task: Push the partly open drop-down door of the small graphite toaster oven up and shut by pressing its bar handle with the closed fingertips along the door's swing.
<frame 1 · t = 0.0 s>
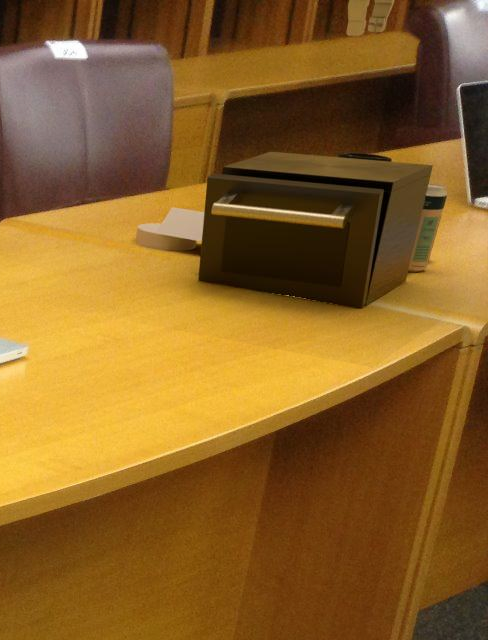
hand: (365, 33, 198), 33 cm above the table, tool pointing down, fingers open, 8 cm apart
coffee cup: (339, 256, 236), on the table
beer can: (407, 270, 226), on the table
oven: (304, 282, 218), on the table
oven door: (279, 247, 205), point 7 cm above the table, hinge at 13.9°
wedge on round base: (175, 254, 237), on the table
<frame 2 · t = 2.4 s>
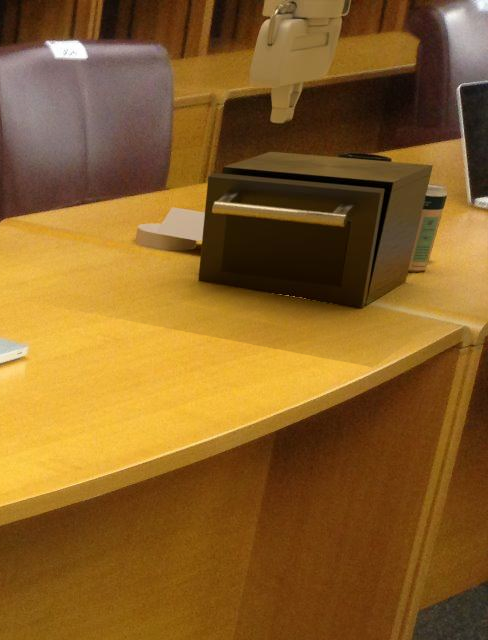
hand: (280, 122, 191), 24 cm above the table, tool pointing down, fingers closed
oven door: (280, 246, 205), point 7 cm above the table, hinge at 12.8°
everything else where it was.
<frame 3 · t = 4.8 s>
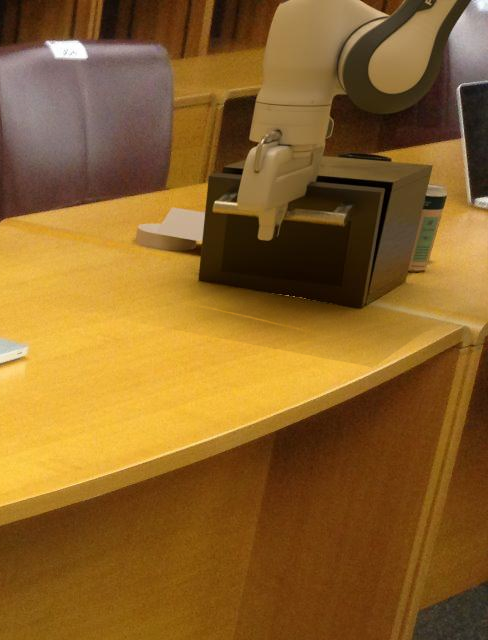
hand: (267, 238, 199), 9 cm above the table, tool pointing down, fingers closed
oven door: (280, 245, 205), point 7 cm above the table, hinge at 12.2°, touching gripper
everything else where it was.
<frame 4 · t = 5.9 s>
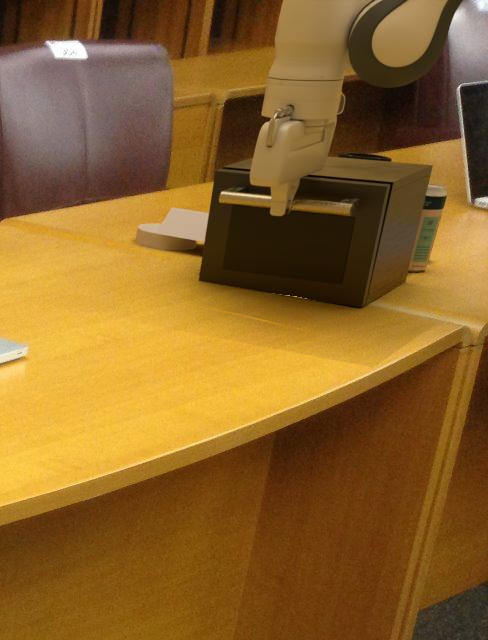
hand: (279, 214, 200), 12 cm above the table, tool pointing down, fingers closed
oven door: (283, 240, 205), point 8 cm above the table, hinge at 3.6°, touching gripper
everything else where it was.
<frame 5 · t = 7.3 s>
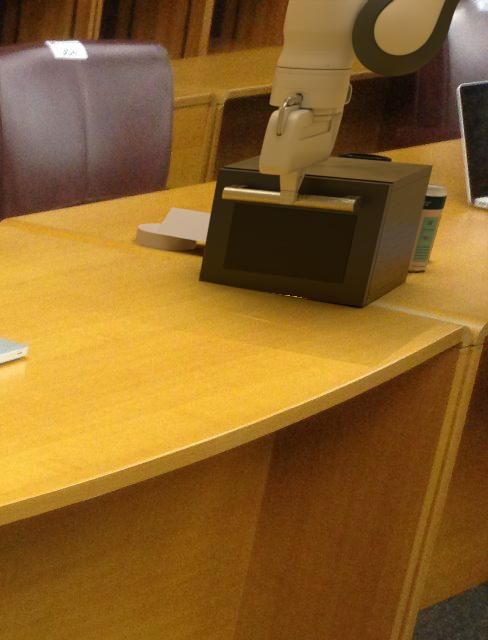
hand: (286, 203, 201), 13 cm above the table, tool pointing down, fingers closed, pressing on oven door
oven door: (285, 238, 206), point 8 cm above the table, hinge at -0.9°, touching gripper, oven
everything else where it was.
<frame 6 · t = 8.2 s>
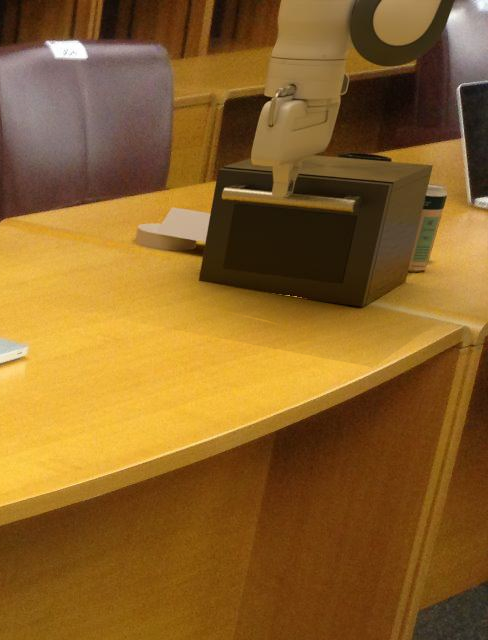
hand: (281, 195, 199), 14 cm above the table, tool pointing down, fingers closed
oven door: (285, 238, 206), point 8 cm above the table, hinge at -0.4°
everything else where it was.
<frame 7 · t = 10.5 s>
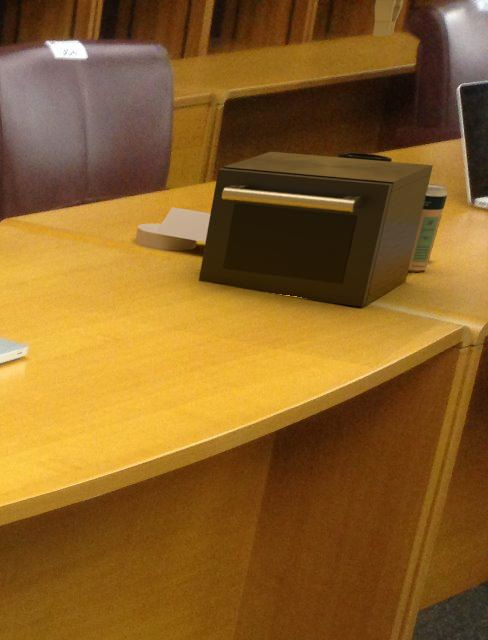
hand: (382, 36, 198), 33 cm above the table, tool pointing down, fingers closed
nothing on the table moved.
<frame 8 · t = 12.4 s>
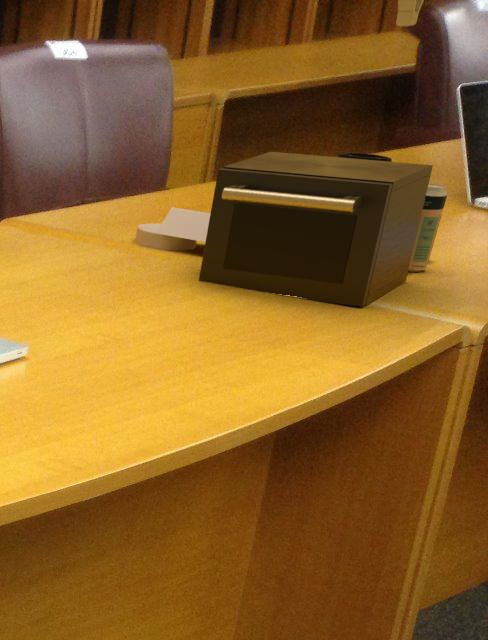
hand: (405, 25, 200), 34 cm above the table, tool pointing down, fingers closed
nothing on the table moved.
at the end: oven door at +0° (first picture: +14°) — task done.
